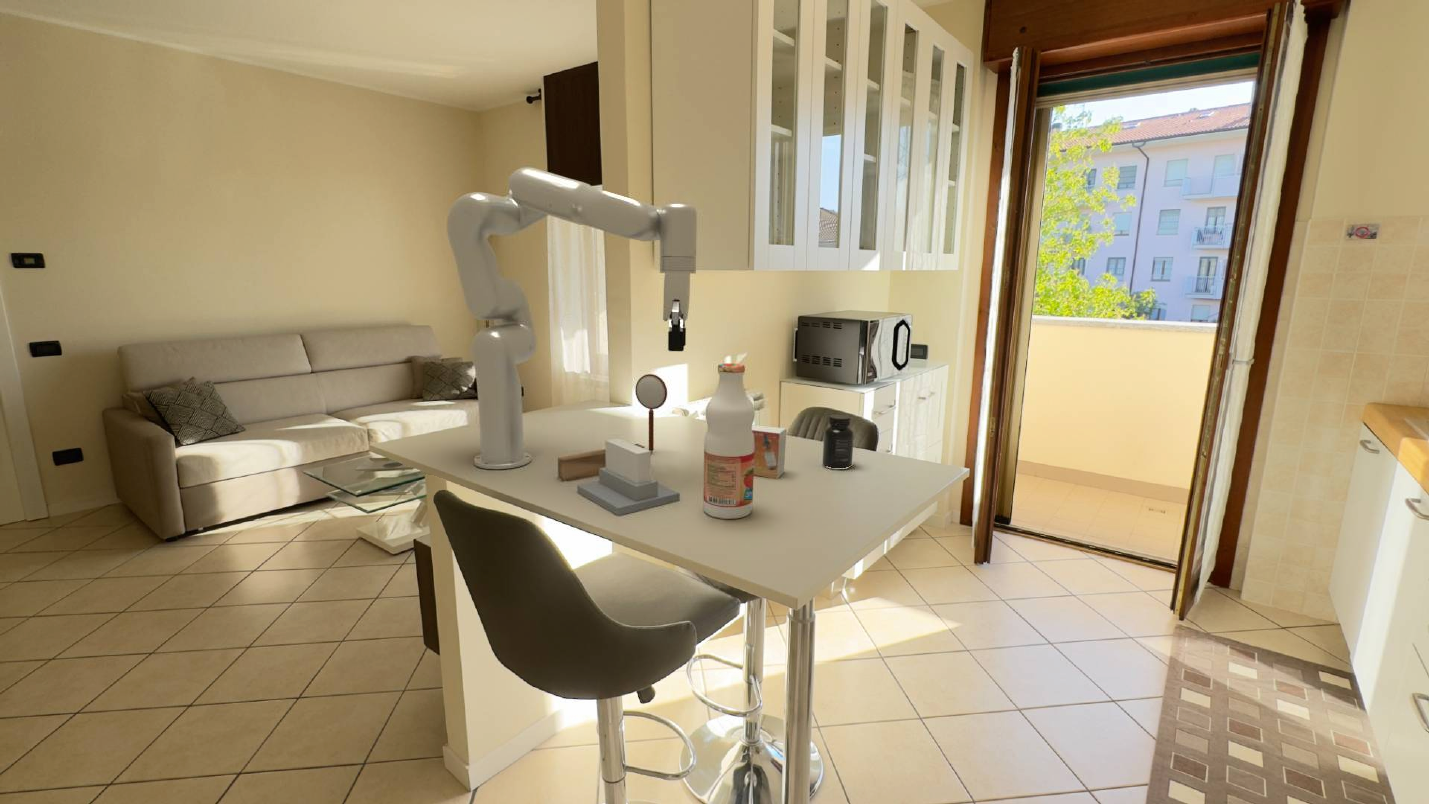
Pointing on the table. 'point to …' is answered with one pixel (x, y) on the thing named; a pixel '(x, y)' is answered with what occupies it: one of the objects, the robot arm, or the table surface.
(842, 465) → the supplement bottle
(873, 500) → the table surface
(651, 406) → the magnifying glass
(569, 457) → the walnut bar
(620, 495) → the ridge stand
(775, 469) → the small box
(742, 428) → the fruit juice
